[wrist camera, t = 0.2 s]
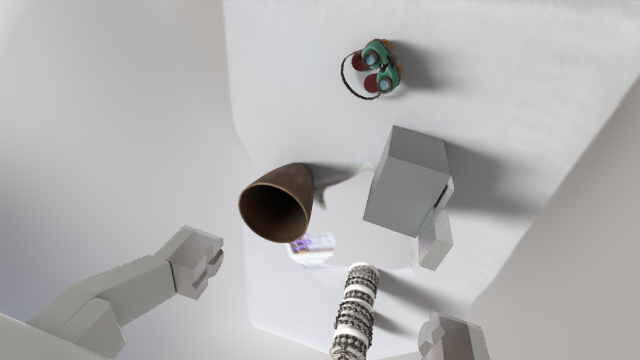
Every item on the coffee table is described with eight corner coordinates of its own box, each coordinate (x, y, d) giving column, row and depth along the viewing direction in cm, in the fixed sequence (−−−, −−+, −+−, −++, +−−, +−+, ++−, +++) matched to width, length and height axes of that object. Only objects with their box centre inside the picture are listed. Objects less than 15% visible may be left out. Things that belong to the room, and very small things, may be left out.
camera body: (393, 125, 54) (387, 155, 43) (443, 140, 53) (452, 175, 42) (369, 188, 63) (359, 227, 52) (412, 202, 62) (411, 245, 51)
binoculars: (321, 74, 44) (376, 35, 38) (341, 60, 52) (388, 27, 46) (350, 121, 46) (405, 92, 41) (364, 101, 54) (412, 75, 49)
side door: (438, 152, 53) (449, 218, 36) (450, 156, 52) (467, 224, 36) (417, 193, 58) (419, 265, 42) (428, 196, 58) (434, 271, 41)
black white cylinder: (382, 284, 79) (371, 380, 58) (351, 282, 82) (330, 372, 62) (378, 261, 75) (364, 356, 54) (345, 260, 78) (321, 349, 58)
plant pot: (315, 141, 61) (288, 176, 48) (337, 196, 67) (318, 240, 54) (261, 155, 67) (225, 190, 54) (286, 204, 73) (258, 246, 60)
